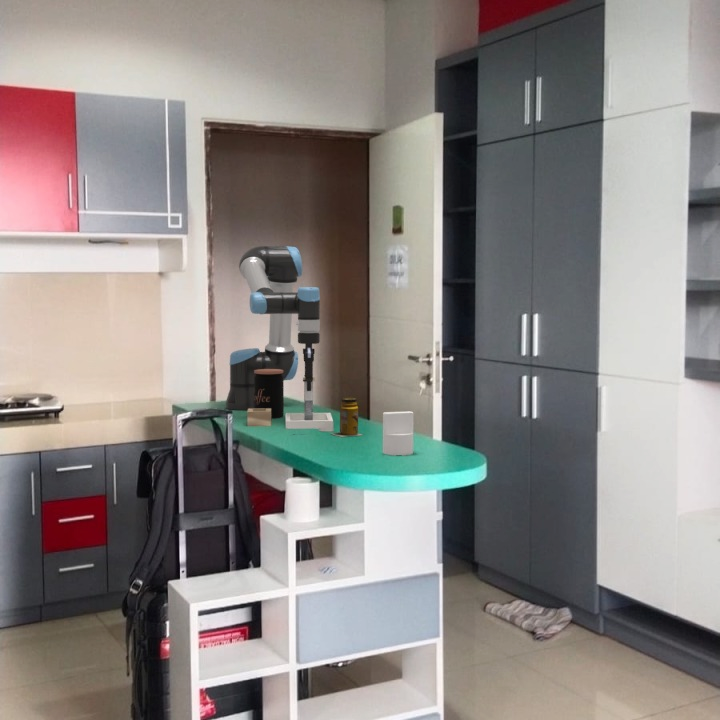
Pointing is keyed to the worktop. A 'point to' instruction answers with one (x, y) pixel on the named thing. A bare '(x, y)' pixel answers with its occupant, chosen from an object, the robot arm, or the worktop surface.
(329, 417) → the tray
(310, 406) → the steel pin
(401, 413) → the base with upright slab
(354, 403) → the condiment
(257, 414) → the block
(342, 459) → the worktop surface
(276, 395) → the coffee jar
